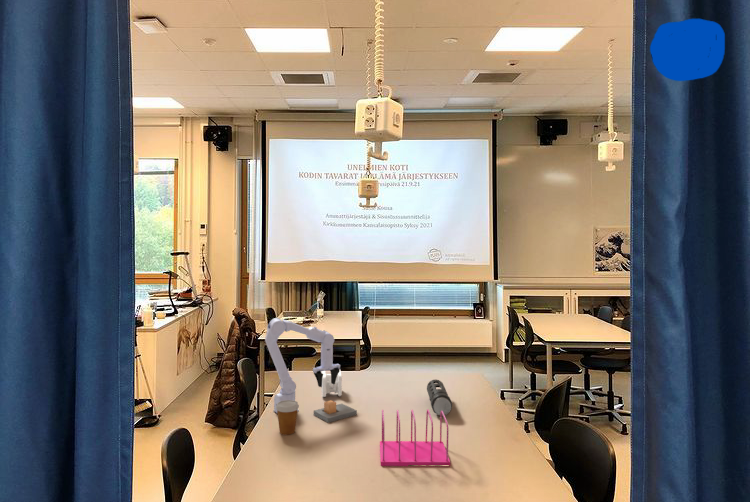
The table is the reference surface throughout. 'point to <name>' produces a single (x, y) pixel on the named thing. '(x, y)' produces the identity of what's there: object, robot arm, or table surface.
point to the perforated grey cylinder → (439, 397)
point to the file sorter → (414, 447)
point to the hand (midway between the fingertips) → (326, 385)
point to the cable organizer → (330, 387)
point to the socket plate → (336, 413)
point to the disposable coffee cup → (287, 416)
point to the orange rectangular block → (329, 407)
